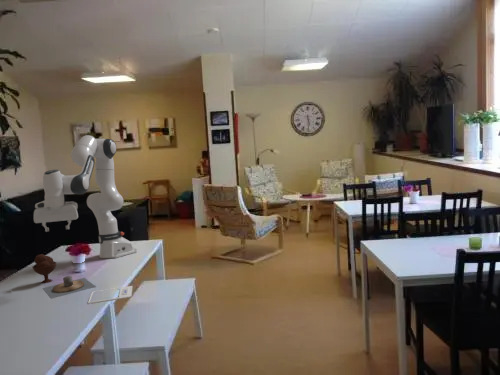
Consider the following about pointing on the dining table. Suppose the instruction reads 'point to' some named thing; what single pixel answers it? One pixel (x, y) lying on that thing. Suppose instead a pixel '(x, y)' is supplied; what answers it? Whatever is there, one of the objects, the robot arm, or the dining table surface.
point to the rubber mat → (54, 294)
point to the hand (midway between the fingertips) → (57, 230)
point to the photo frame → (124, 293)
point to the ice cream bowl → (44, 266)
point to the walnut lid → (68, 285)
